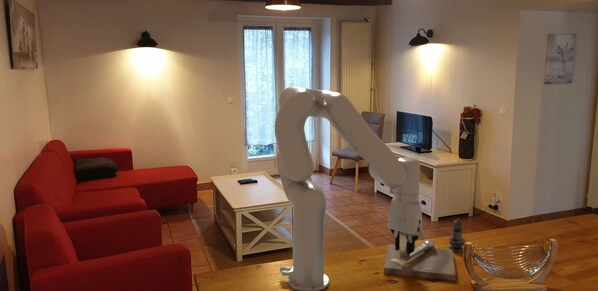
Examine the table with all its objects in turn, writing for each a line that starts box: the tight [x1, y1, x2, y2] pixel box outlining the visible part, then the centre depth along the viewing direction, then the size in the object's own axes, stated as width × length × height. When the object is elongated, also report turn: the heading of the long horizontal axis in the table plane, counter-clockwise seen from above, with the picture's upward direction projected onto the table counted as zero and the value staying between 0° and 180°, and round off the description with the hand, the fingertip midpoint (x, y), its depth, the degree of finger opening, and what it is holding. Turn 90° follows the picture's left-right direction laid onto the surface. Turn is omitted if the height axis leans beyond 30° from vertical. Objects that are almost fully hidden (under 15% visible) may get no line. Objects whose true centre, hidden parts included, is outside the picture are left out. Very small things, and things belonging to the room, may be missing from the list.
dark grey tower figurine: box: [448, 217, 466, 253], centre depth 170 cm, size 6×6×12 cm
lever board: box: [383, 243, 457, 282], centre depth 159 cm, size 22×20×3 cm
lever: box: [399, 232, 436, 261], centre depth 159 cm, size 20×4×9 cm, turn 136°
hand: (404, 250), depth 153 cm, fingers closed on lever, 3 cm apart
